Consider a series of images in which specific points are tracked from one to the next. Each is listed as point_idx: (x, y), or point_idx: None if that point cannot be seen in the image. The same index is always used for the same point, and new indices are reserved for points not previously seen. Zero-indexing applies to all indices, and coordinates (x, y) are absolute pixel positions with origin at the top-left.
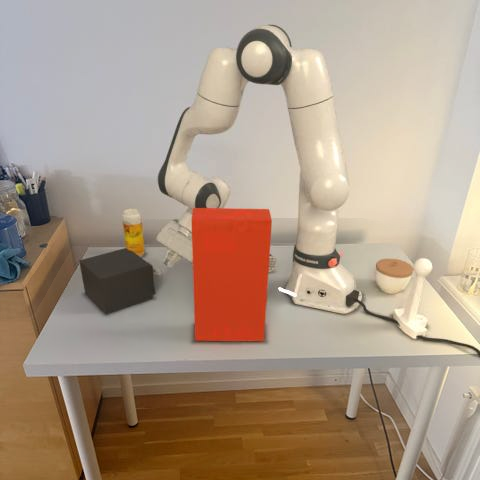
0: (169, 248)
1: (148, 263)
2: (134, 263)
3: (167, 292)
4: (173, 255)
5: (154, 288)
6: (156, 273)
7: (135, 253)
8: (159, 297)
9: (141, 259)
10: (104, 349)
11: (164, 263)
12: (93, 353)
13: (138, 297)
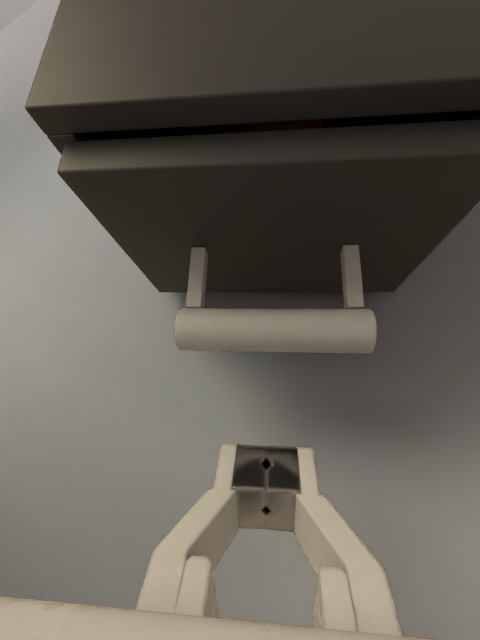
0: (350, 632)
1: (124, 163)
2: (147, 29)
3: (156, 367)
4: (201, 560)
5: (148, 277)
6: (187, 307)
7: (417, 155)
8: (145, 309)
9: (172, 93)
10: (27, 53)
11: (281, 447)
12: (35, 32)
13: None
